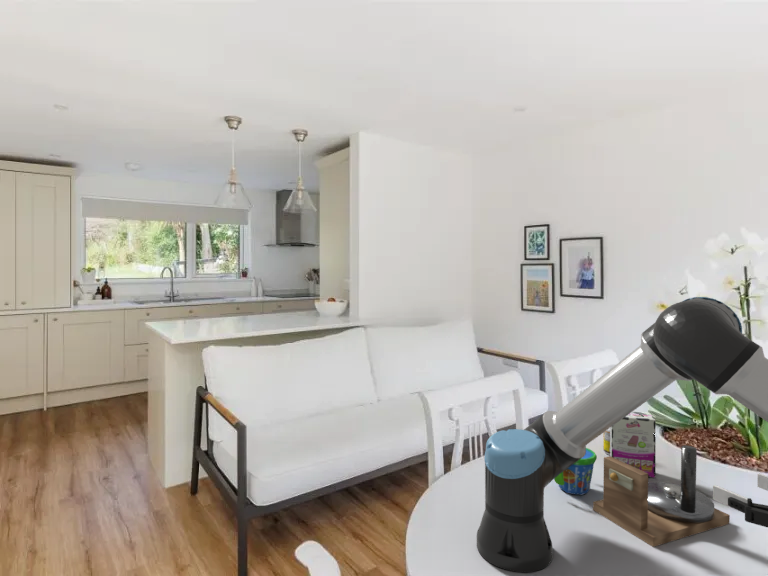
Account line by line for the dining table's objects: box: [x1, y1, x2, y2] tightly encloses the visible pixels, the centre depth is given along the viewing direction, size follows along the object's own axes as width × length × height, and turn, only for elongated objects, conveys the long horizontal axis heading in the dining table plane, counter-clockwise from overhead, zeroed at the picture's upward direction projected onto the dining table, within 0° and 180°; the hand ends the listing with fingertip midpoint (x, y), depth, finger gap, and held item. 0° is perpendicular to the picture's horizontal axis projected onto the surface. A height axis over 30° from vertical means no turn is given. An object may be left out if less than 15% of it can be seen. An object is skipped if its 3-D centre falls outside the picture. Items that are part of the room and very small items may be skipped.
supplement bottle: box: [602, 428, 610, 456], centre depth 145 cm, size 6×6×10 cm
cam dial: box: [648, 445, 715, 522], centre depth 108 cm, size 15×15×16 cm
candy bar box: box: [609, 413, 657, 478], centre depth 131 cm, size 11×5×16 cm, turn 70°
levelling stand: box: [592, 455, 731, 548], centre depth 107 cm, size 26×16×14 cm, turn 111°
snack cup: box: [553, 447, 598, 496], centre depth 121 cm, size 16×10×10 cm
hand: (736, 485), depth 93 cm, fingers open, 13 cm apart
